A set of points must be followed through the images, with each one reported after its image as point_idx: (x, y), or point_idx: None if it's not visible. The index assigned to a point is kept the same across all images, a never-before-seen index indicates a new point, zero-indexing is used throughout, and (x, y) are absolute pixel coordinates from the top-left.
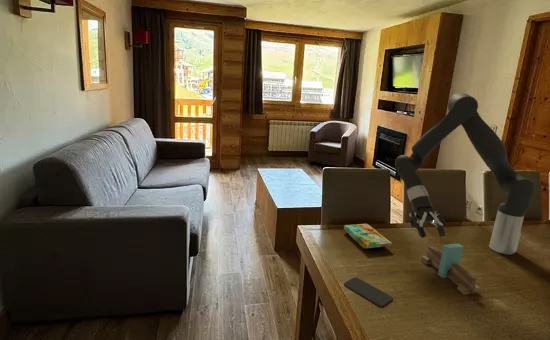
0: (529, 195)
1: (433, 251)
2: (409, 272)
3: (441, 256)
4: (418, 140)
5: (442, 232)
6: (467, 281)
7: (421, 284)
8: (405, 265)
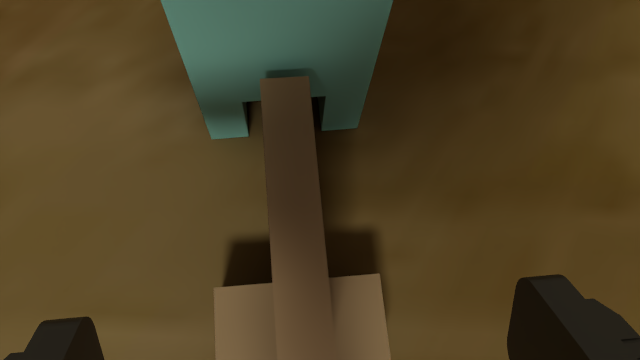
0: None
1: (325, 257)
2: (586, 171)
3: (384, 27)
4: None
5: (69, 356)
6: None
7: (557, 27)
8: (580, 279)
